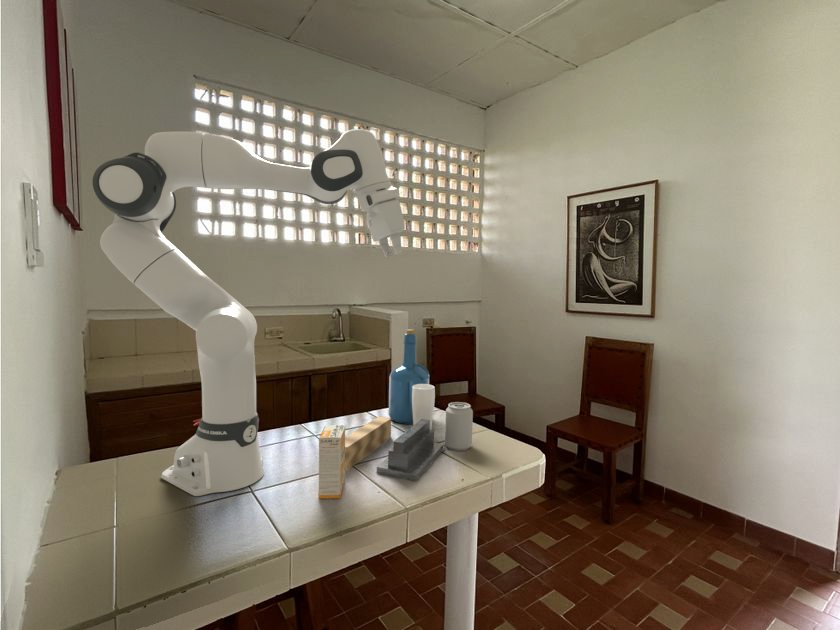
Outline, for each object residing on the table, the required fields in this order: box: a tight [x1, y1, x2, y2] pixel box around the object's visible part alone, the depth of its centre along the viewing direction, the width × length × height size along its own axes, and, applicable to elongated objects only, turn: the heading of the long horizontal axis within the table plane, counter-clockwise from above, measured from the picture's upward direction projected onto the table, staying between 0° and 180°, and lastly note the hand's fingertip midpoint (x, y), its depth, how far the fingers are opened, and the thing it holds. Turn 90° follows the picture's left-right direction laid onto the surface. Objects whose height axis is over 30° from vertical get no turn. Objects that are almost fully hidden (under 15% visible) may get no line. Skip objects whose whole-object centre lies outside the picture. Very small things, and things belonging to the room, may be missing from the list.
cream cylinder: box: [412, 383, 436, 430], centre depth 122 cm, size 7×7×15 cm
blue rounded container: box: [388, 328, 430, 425], centre depth 137 cm, size 14×13×30 cm
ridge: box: [376, 419, 445, 482], centre depth 105 cm, size 10×20×8 cm, turn 158°
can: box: [444, 401, 474, 452], centre depth 115 cm, size 8×8×12 cm
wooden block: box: [345, 416, 392, 472], centre depth 111 cm, size 24×4×6 cm, turn 158°
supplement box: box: [317, 424, 346, 500], centre depth 89 cm, size 8×5×13 cm, turn 4°
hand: (393, 255), depth 102 cm, fingers open, 8 cm apart
